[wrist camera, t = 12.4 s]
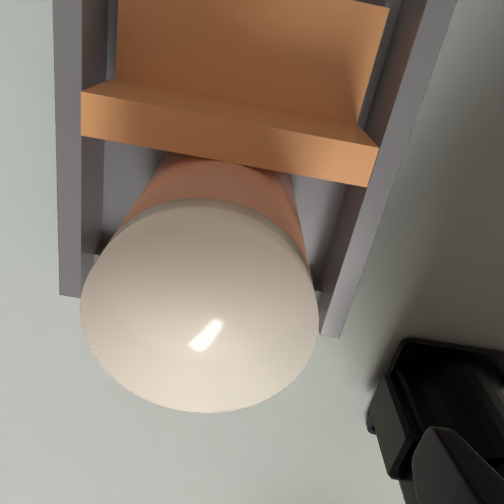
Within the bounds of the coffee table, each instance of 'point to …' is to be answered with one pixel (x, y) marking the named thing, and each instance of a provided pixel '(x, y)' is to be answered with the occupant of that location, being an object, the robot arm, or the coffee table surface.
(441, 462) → the robot arm
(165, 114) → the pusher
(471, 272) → the coffee table surface
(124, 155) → the lane
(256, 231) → the jar
